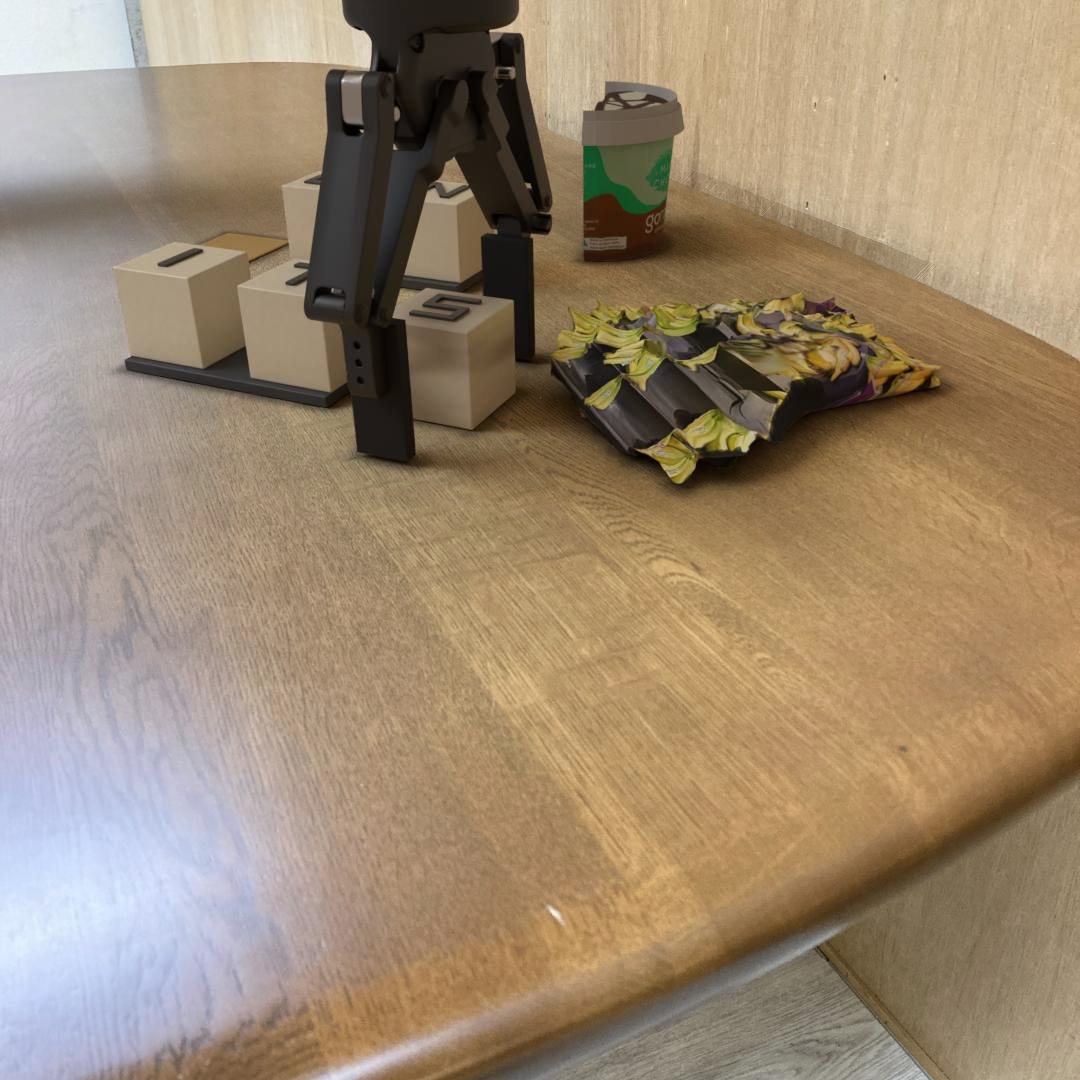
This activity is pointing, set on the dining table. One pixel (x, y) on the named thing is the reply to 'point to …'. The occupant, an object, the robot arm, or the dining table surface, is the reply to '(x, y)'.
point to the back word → (438, 248)
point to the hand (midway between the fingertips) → (454, 400)
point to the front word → (228, 324)
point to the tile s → (458, 355)
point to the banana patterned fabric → (723, 373)
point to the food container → (627, 169)
